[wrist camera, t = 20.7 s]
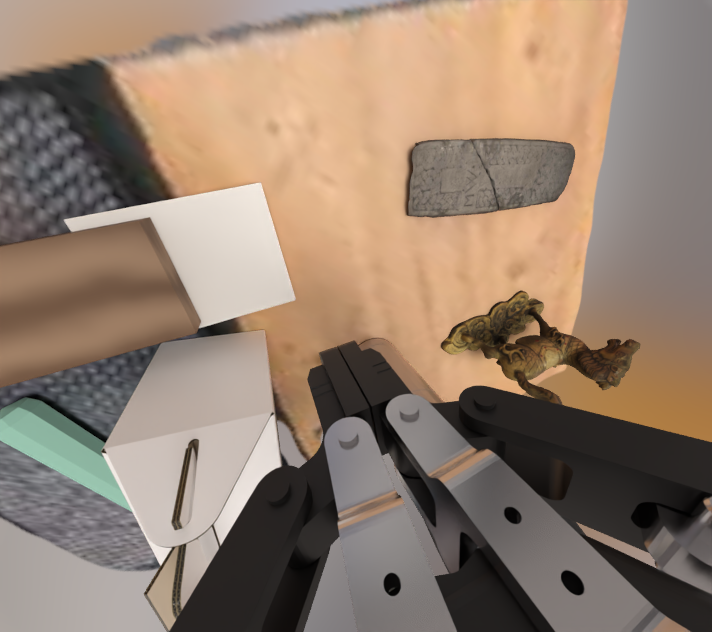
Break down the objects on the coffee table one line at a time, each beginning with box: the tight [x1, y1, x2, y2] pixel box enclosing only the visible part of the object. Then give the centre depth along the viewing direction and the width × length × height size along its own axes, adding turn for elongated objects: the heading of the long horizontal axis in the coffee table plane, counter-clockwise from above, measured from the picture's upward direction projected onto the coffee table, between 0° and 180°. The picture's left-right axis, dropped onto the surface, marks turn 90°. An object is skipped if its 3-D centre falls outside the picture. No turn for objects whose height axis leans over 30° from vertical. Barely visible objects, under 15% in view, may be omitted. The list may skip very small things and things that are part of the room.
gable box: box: [101, 330, 282, 632], centre depth 31 cm, size 22×13×28 cm, turn 179°
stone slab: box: [408, 138, 575, 218], centre depth 42 cm, size 10×3×30 cm
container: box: [0, 397, 132, 512], centre depth 38 cm, size 6×6×25 cm
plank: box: [0, 217, 201, 388], centre depth 27 cm, size 12×20×3 cm, turn 100°
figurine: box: [442, 291, 640, 405], centre depth 48 cm, size 13×25×20 cm, turn 99°
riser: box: [64, 182, 296, 328], centre depth 32 cm, size 14×18×4 cm
